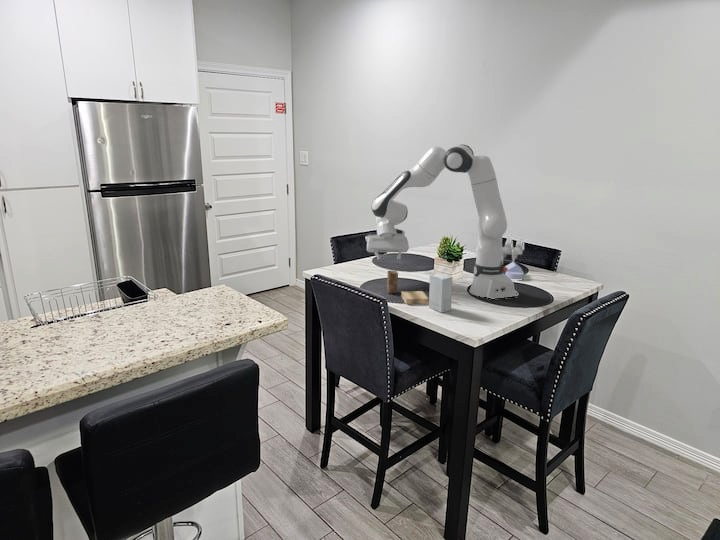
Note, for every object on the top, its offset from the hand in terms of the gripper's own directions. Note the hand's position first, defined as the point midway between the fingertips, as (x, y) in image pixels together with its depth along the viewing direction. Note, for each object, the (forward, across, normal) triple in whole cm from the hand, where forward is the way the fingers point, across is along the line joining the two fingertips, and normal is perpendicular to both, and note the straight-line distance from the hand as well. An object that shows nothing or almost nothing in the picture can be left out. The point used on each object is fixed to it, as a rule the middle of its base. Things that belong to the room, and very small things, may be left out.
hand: (389, 259), depth 229 cm
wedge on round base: (+1, +70, +18) cm, 72 cm away
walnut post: (+16, 0, +2) cm, 17 cm away
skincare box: (+32, +16, -13) cm, 38 cm away
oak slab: (+24, +8, -5) cm, 26 cm away
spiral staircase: (-15, +71, +35) cm, 80 cm away
